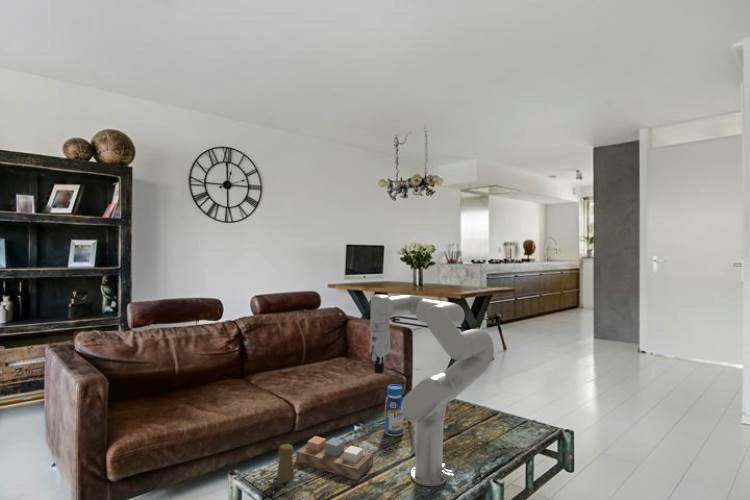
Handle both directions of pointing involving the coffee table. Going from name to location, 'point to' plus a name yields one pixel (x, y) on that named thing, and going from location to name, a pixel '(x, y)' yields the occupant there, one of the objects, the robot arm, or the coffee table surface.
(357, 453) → the key ivory
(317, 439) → the key terracotta
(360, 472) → the wooden slotted tray
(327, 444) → the grey cube
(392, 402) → the beverage bottle
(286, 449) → the cork
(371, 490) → the coffee table surface
